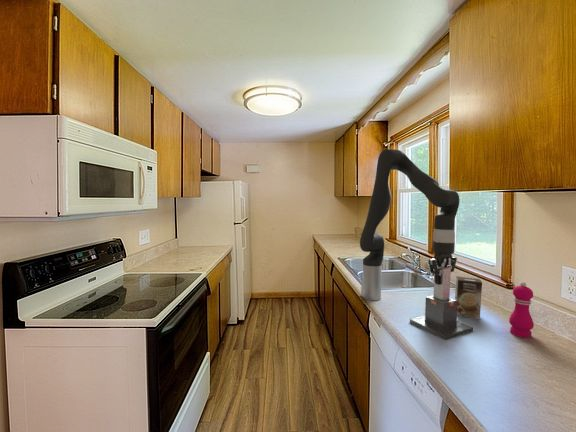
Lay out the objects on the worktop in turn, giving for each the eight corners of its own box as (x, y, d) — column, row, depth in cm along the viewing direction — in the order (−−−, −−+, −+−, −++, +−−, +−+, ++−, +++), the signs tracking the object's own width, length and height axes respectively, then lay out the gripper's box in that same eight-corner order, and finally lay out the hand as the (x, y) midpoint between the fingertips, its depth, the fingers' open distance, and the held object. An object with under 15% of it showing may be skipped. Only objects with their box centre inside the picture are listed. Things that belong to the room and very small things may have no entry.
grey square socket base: (409, 322, 119) (410, 295, 118) (436, 315, 126) (437, 289, 125) (445, 339, 105) (446, 308, 104) (473, 331, 111) (474, 302, 111)
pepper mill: (537, 339, 105) (540, 285, 104) (515, 337, 106) (518, 284, 105) (525, 330, 112) (528, 280, 111) (504, 328, 113) (507, 278, 112)
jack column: (432, 310, 116) (434, 265, 115) (439, 308, 118) (441, 264, 117) (442, 313, 112) (443, 267, 111) (449, 312, 114) (451, 266, 113)
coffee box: (455, 315, 126) (457, 279, 125) (454, 310, 132) (455, 276, 131) (480, 319, 122) (482, 282, 121) (478, 314, 128) (479, 278, 127)
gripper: (447, 238, 119) (445, 278, 121) (422, 240, 113) (421, 283, 115) (464, 240, 113) (462, 283, 114) (439, 243, 107) (437, 288, 108)
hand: (441, 283), depth 114 cm, fingers closed on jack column, 4 cm apart
